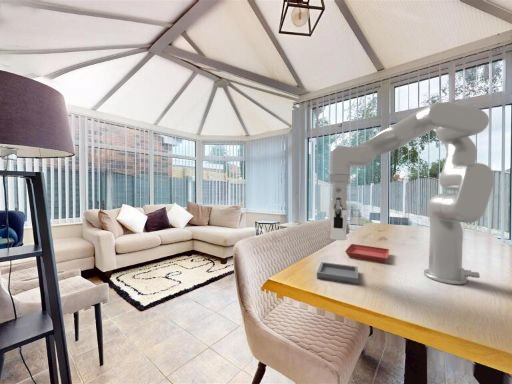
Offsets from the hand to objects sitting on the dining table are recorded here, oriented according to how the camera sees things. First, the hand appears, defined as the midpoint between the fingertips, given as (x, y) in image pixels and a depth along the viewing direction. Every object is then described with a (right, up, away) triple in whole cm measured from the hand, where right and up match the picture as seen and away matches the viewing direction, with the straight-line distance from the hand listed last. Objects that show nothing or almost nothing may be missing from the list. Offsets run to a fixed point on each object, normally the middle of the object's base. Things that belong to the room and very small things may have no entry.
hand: (338, 226), depth 88 cm
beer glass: (0, -5, 0) cm, 5 cm away
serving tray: (0, -19, 0) cm, 19 cm away
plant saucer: (+24, -19, +26) cm, 40 cm away
